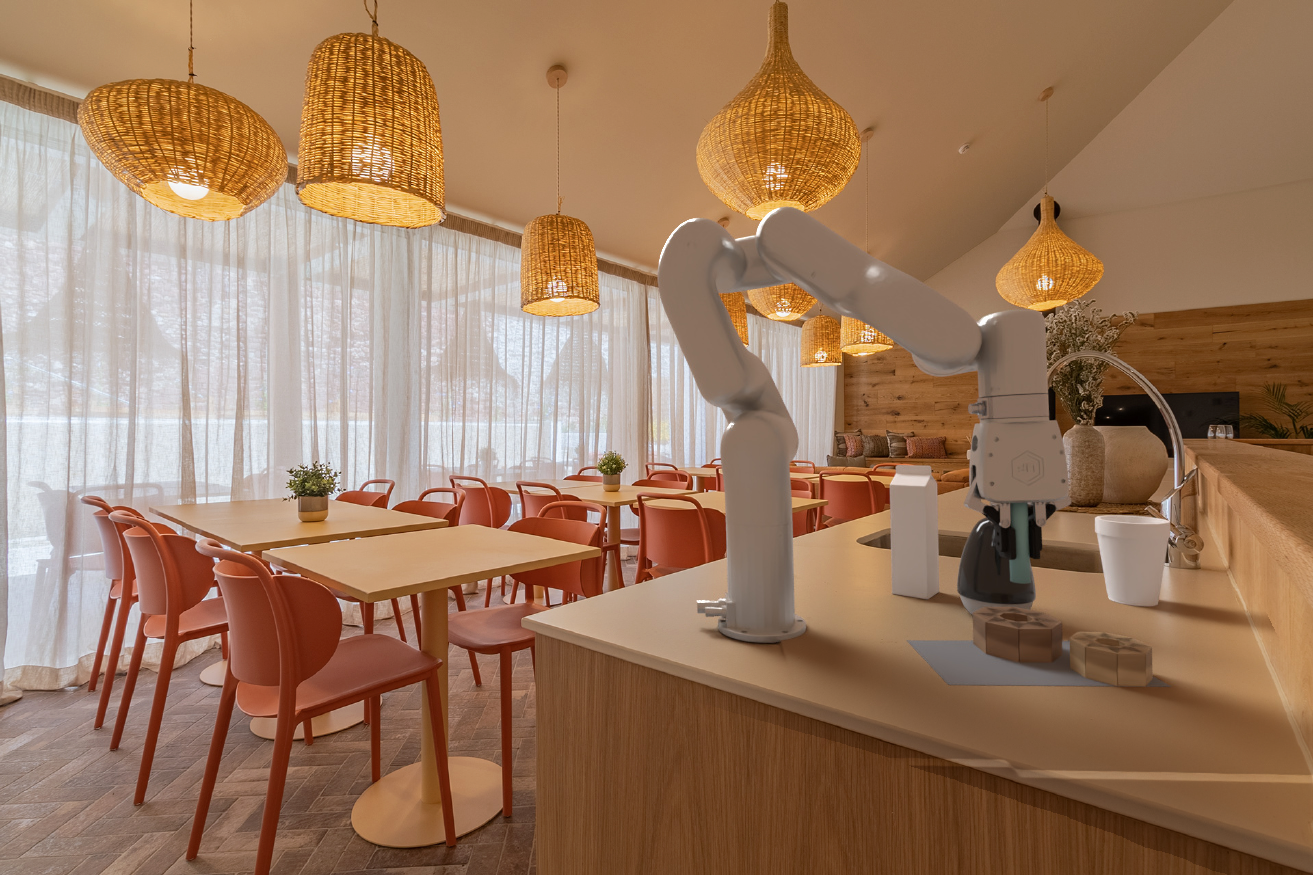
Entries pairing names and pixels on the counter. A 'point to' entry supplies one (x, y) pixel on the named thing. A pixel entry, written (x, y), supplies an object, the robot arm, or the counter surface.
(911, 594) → the milk
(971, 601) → the pump dispenser
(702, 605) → the robot arm
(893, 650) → the counter surface
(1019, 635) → the bead
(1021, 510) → the teal rounded rod
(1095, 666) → the oak bead
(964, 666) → the mat
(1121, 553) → the foam cup
